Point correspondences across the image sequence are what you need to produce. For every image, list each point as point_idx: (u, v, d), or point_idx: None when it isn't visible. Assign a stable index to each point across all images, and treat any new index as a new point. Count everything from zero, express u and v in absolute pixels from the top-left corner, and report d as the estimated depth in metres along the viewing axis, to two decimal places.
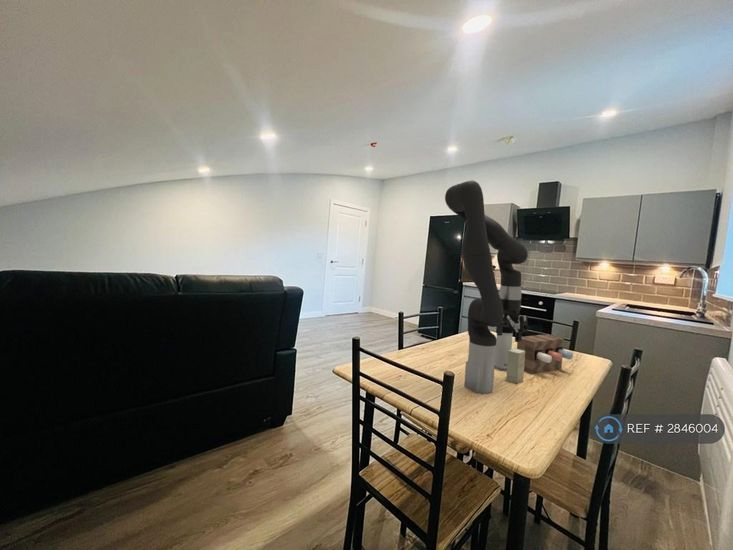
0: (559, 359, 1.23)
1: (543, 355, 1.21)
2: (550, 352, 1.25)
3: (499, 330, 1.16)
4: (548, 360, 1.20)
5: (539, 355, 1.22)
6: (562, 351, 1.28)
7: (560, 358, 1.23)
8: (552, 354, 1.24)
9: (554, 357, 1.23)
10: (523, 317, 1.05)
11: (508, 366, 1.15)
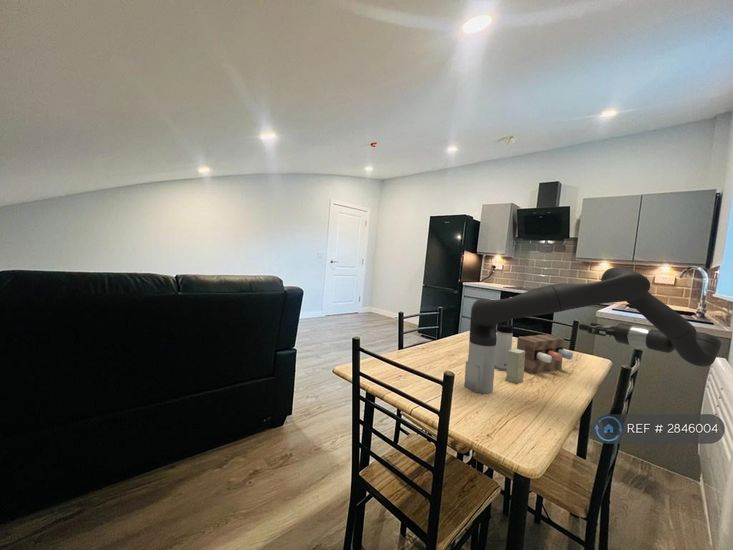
0: (559, 359, 1.23)
1: (543, 355, 1.21)
2: (550, 352, 1.25)
3: (596, 325, 1.20)
4: (548, 360, 1.20)
5: (539, 355, 1.22)
6: (562, 351, 1.28)
7: (560, 358, 1.23)
8: (552, 354, 1.24)
9: (554, 357, 1.23)
10: (603, 331, 1.09)
11: (508, 366, 1.15)
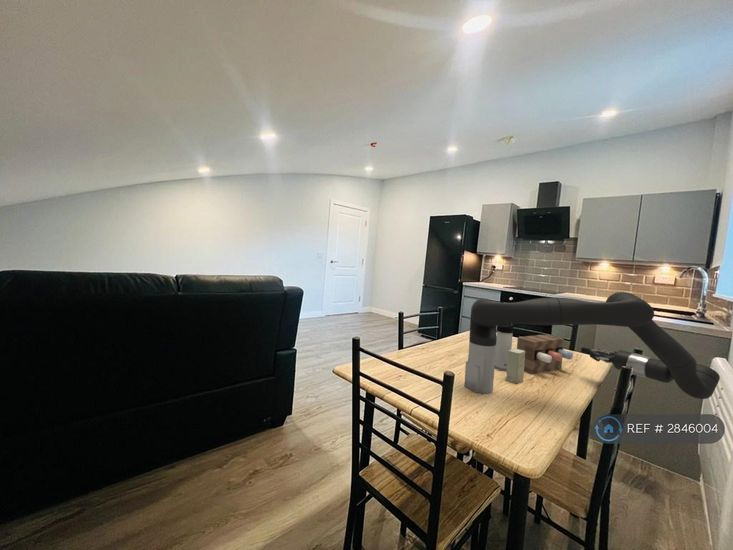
0: (559, 359, 1.23)
1: (543, 355, 1.21)
2: (550, 352, 1.25)
3: None
4: (548, 360, 1.20)
5: (539, 355, 1.22)
6: (562, 351, 1.28)
7: (560, 358, 1.23)
8: (552, 354, 1.24)
9: (554, 357, 1.23)
10: (596, 355, 1.11)
11: (508, 366, 1.15)
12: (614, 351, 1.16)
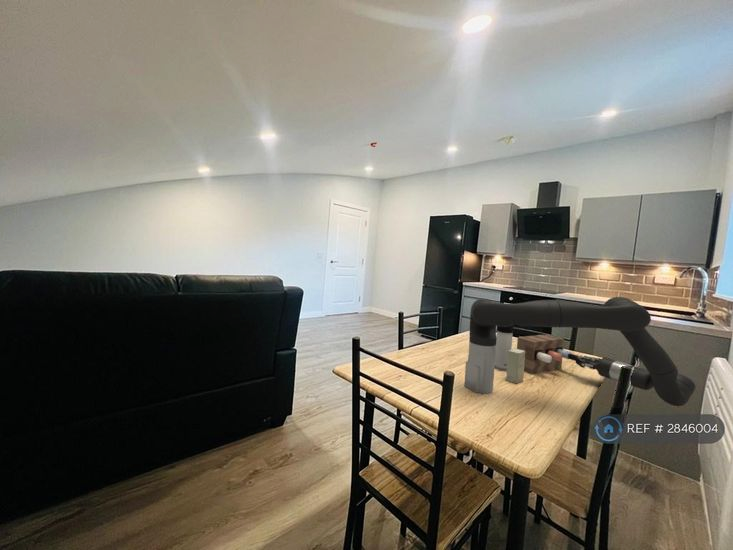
0: (559, 359, 1.23)
1: (543, 355, 1.21)
2: (550, 352, 1.25)
3: None
4: (548, 360, 1.20)
5: (539, 355, 1.22)
6: (561, 351, 1.28)
7: (560, 358, 1.23)
8: (552, 354, 1.24)
9: (554, 357, 1.23)
10: (581, 362, 1.16)
11: (508, 366, 1.15)
12: (599, 358, 1.20)
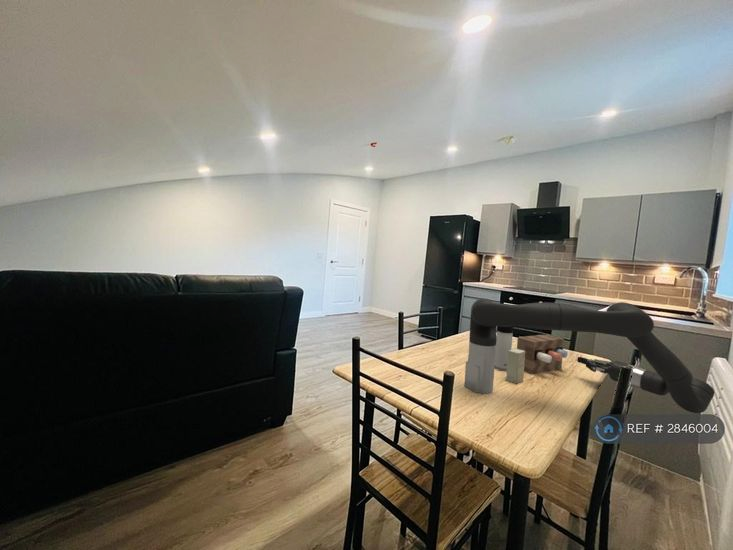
0: (559, 359, 1.23)
1: (543, 355, 1.21)
2: (550, 352, 1.25)
3: None
4: (548, 360, 1.20)
5: (539, 355, 1.22)
6: (557, 350, 1.30)
7: (560, 358, 1.23)
8: (552, 354, 1.24)
9: (554, 357, 1.23)
10: (592, 366, 1.12)
11: (508, 366, 1.15)
12: None
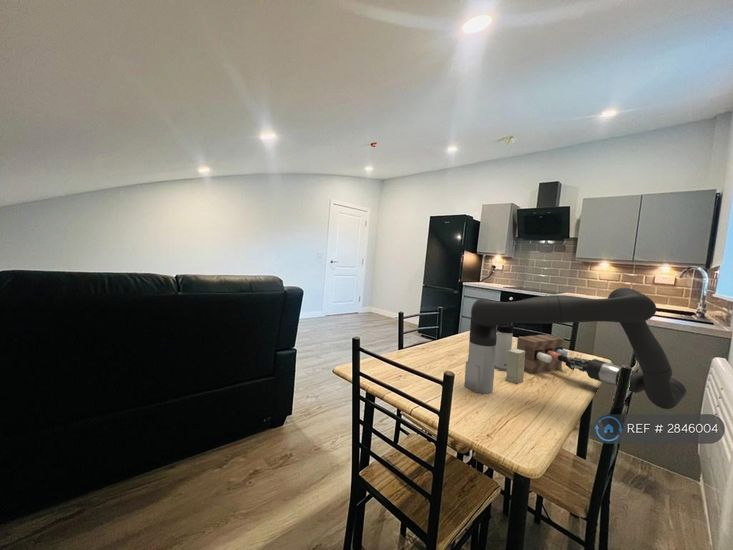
0: None
1: (543, 355, 1.21)
2: (549, 352, 1.26)
3: None
4: (548, 360, 1.20)
5: (539, 355, 1.22)
6: (557, 350, 1.30)
7: None
8: (551, 353, 1.25)
9: (553, 357, 1.24)
10: (571, 364, 1.13)
11: (508, 366, 1.15)
12: (589, 360, 1.17)
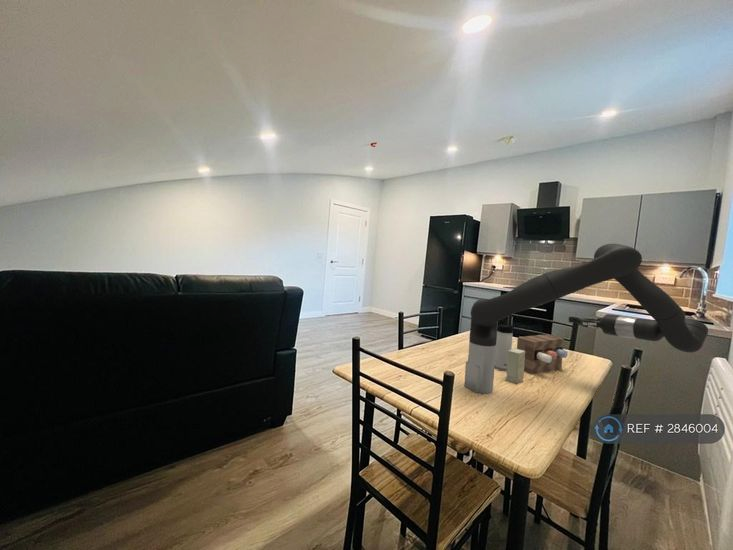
0: (554, 357, 1.25)
1: (543, 355, 1.21)
2: (545, 350, 1.27)
3: None
4: (548, 360, 1.20)
5: (539, 355, 1.22)
6: (557, 350, 1.30)
7: (555, 356, 1.25)
8: (547, 352, 1.26)
9: None
10: (584, 321, 1.09)
11: (508, 366, 1.15)
12: (601, 318, 1.13)
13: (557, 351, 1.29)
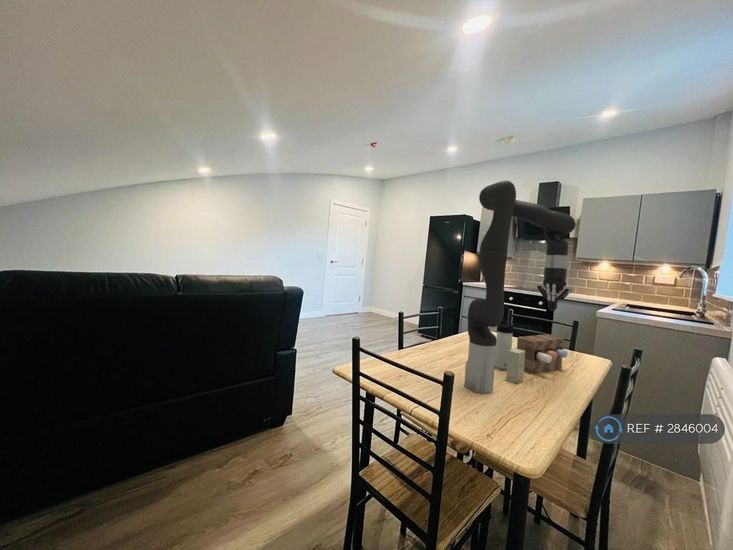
0: (554, 357, 1.25)
1: (543, 355, 1.21)
2: (545, 350, 1.27)
3: None
4: (548, 360, 1.20)
5: (539, 355, 1.22)
6: (557, 350, 1.30)
7: (555, 356, 1.25)
8: (547, 352, 1.26)
9: None
10: (568, 291, 1.09)
11: (508, 366, 1.15)
12: (538, 286, 1.19)
13: (557, 351, 1.29)
